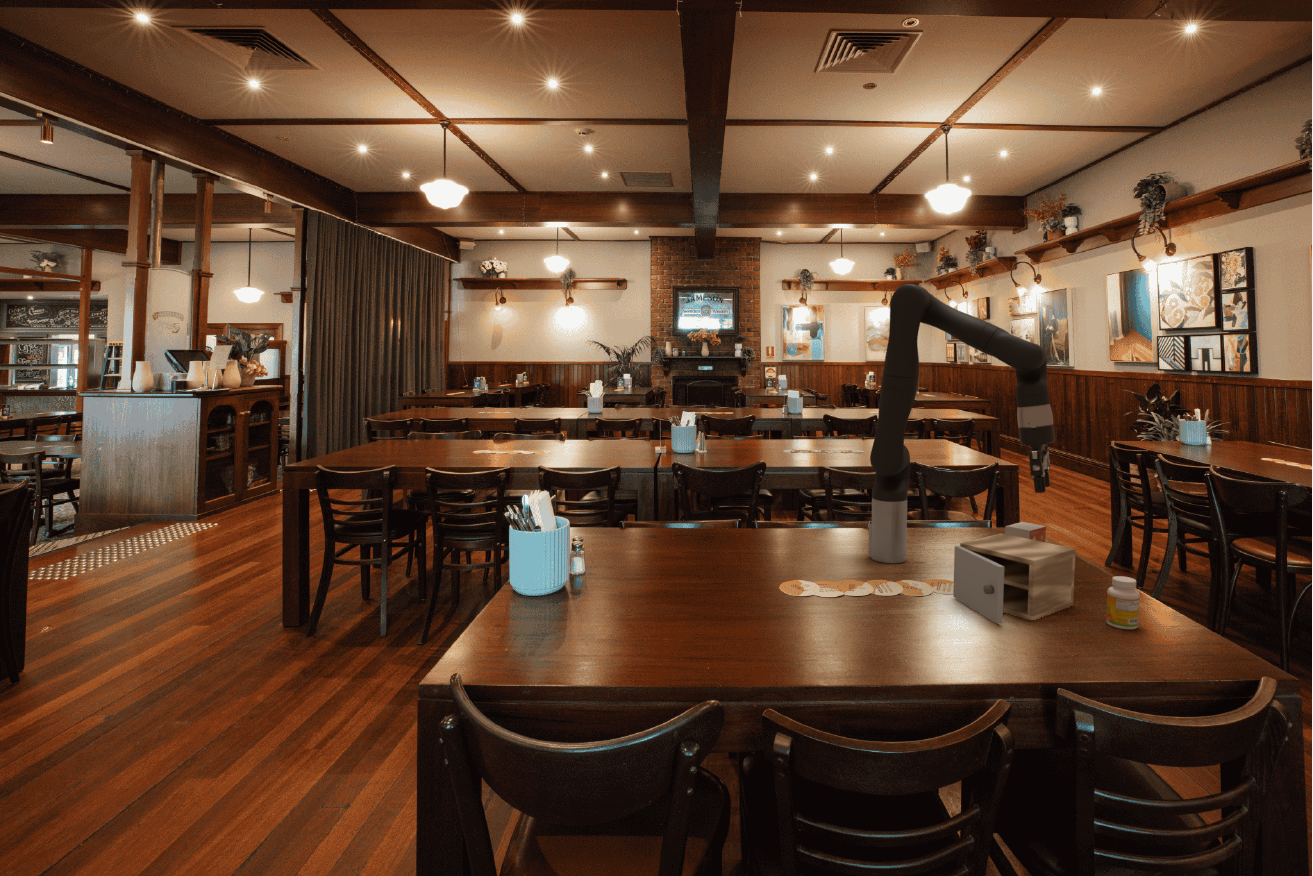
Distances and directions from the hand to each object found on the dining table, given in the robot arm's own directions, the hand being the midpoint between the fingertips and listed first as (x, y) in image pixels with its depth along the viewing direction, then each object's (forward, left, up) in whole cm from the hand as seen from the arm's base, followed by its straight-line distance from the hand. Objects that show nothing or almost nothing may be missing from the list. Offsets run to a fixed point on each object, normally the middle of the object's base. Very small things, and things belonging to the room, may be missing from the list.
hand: (1042, 489), depth 161 cm
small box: (-4, +1, -23) cm, 24 cm away
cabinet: (+5, -19, -23) cm, 31 cm away
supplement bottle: (+25, -14, -23) cm, 37 cm away
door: (+4, -32, -22) cm, 40 cm away
